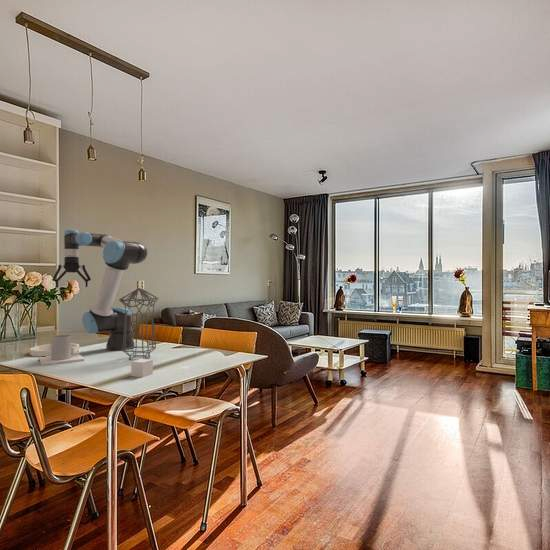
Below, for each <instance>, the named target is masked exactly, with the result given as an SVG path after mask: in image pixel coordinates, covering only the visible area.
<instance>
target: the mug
mask: <svg viewBox="0 0 550 550" xmlns="http://www.w3.org/2000/svg"><path fill="white" fill-rule="evenodd" d="M71 339H72V336H71V335H70V334H60V335H59V334H58V335H53V336H52V335H51V340H50V344H51V359H52V360H66V359H70V358H71V343H72V340H71Z"/></svg>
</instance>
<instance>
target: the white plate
mask: <svg viewBox="0 0 550 550" xmlns="http://www.w3.org/2000/svg"><path fill="white" fill-rule="evenodd" d="M77 351H79V352H80V344H79V343H74V342H73V343H72V342H71V353H72V354H75V353H74V352H76V353H78V352H77ZM30 355H32V356H33V357H36V356H51V343H49V344H41V345H36V346H33V347H30V348H29V356H30Z"/></svg>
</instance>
